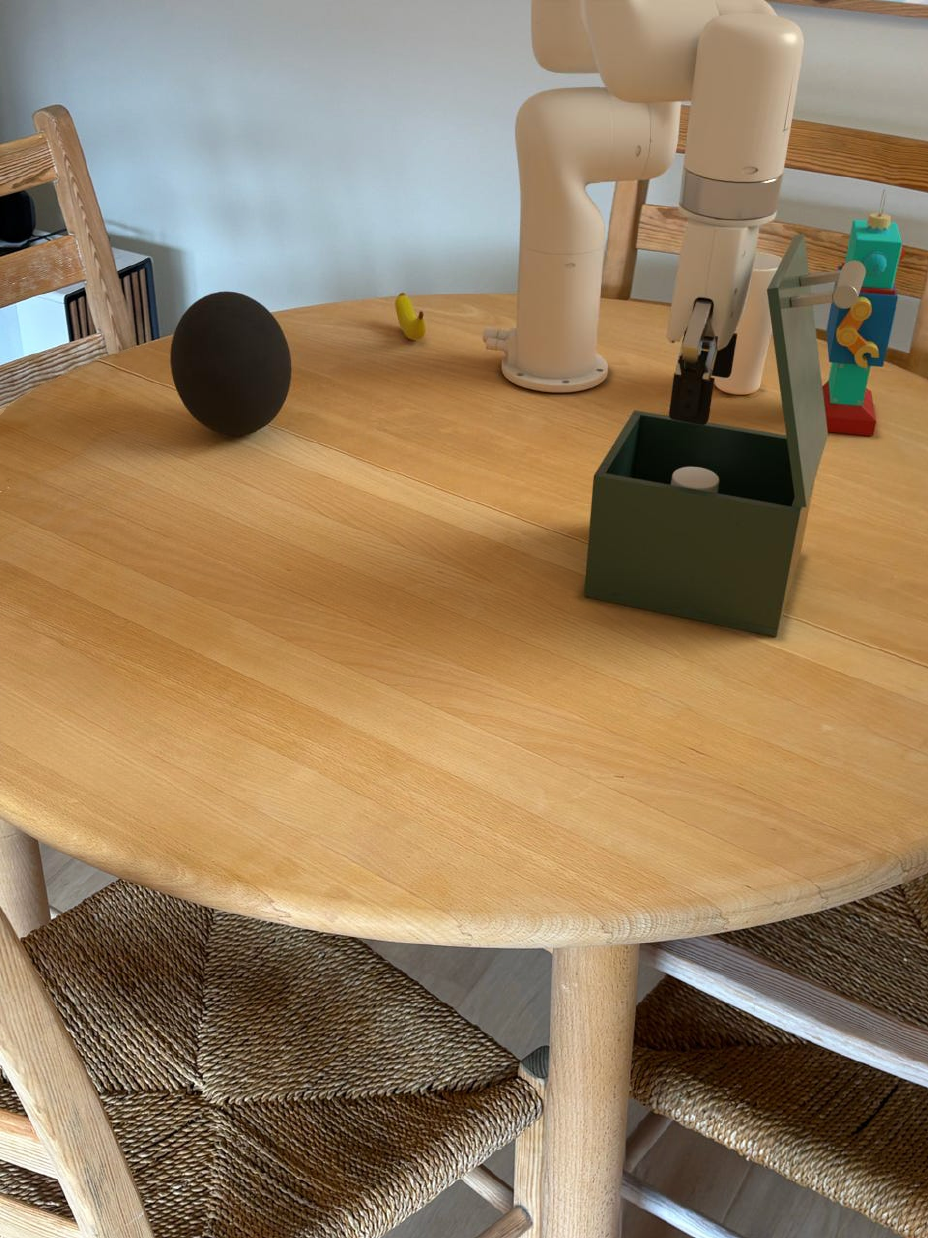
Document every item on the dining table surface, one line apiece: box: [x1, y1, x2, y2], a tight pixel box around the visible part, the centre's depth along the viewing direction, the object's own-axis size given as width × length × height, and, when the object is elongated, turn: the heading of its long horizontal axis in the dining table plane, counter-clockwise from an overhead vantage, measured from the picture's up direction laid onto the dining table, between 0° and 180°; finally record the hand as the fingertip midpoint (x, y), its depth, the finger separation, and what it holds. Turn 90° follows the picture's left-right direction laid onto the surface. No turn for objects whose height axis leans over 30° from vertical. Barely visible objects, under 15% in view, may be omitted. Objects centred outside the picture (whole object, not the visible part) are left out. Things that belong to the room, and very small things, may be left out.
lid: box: [767, 233, 866, 508], centre depth 96 cm, size 17×14×6 cm
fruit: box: [394, 292, 427, 341], centre depth 155 cm, size 10×2×5 cm, turn 17°
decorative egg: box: [169, 290, 293, 437], centre depth 130 cm, size 12×12×15 cm
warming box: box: [583, 409, 816, 638], centre depth 107 cm, size 17×14×12 cm
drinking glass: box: [713, 251, 783, 396], centre depth 141 cm, size 7×7×15 cm
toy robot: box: [822, 188, 906, 437], centre depth 132 cm, size 12×6×25 cm, turn 168°
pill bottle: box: [671, 467, 719, 493], centre depth 108 cm, size 5×5×9 cm
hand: (700, 396), depth 106 cm, fingers open, 9 cm apart
